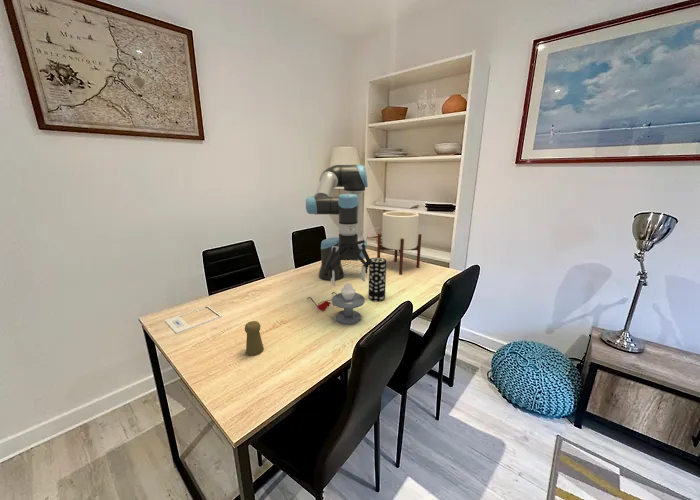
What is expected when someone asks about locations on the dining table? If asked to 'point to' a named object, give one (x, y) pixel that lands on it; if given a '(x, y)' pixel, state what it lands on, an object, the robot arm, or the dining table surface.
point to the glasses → (323, 305)
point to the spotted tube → (377, 279)
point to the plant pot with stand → (400, 234)
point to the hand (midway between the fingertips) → (348, 282)
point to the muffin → (348, 292)
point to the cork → (253, 339)
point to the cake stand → (348, 308)
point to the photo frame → (181, 325)
